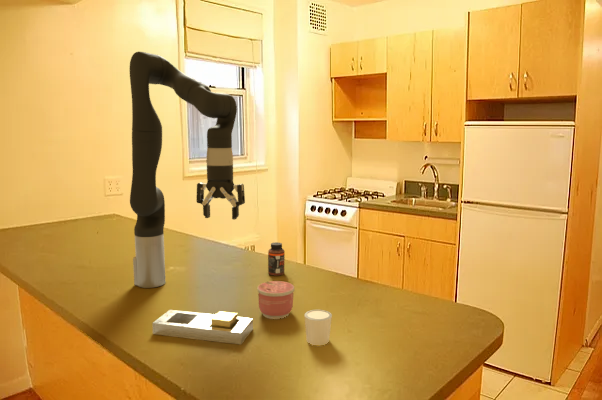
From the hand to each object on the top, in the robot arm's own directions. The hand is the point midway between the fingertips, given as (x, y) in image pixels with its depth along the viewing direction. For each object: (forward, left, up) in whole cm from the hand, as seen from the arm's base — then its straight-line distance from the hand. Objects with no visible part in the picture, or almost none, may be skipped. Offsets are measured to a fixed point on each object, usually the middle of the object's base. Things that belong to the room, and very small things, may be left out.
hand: (220, 218), depth 137 cm
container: (+18, -4, -26) cm, 32 cm away
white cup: (+33, -18, -26) cm, 46 cm away
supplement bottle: (+8, +31, -26) cm, 41 cm away
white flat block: (+3, -20, -26) cm, 33 cm away
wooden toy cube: (+9, -20, -26) cm, 34 cm away
